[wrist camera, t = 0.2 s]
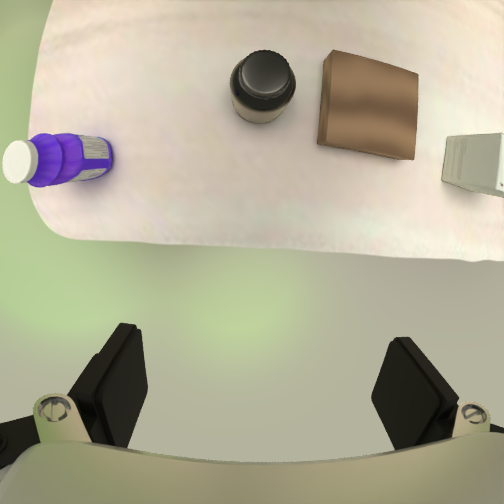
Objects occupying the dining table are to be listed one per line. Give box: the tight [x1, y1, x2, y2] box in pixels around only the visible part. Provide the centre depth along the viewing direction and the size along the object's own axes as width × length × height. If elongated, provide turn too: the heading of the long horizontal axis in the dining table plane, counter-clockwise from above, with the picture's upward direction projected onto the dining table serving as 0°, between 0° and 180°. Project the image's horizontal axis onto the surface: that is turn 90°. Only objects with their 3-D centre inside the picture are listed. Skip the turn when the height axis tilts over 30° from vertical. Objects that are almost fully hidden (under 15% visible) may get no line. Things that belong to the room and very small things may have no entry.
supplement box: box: [442, 133, 504, 198], centre depth 32 cm, size 7×7×13 cm
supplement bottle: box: [230, 50, 296, 123], centre depth 30 cm, size 7×7×12 cm
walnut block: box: [317, 50, 418, 160], centre depth 34 cm, size 12×12×5 cm
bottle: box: [3, 133, 112, 187], centre depth 29 cm, size 7×6×17 cm
